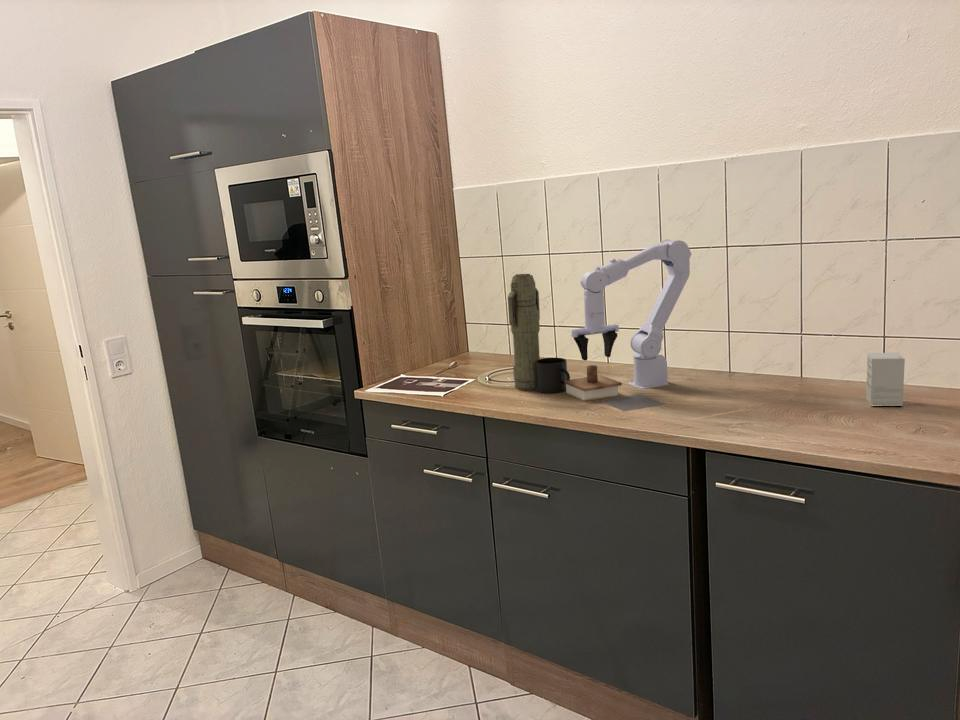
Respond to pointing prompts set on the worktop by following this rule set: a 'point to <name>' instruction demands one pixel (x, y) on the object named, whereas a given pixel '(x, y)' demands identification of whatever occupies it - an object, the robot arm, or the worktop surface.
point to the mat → (632, 402)
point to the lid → (592, 381)
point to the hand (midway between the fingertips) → (596, 358)
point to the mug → (551, 375)
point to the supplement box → (885, 379)
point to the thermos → (524, 329)
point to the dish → (592, 393)
